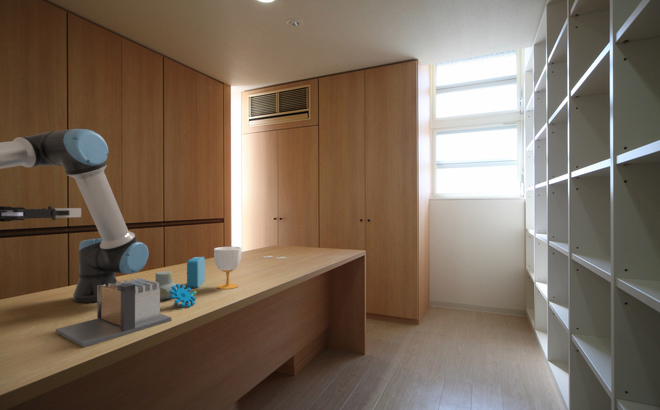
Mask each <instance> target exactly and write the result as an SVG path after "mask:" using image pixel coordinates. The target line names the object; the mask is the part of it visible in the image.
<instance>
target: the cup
mask: <svg viewBox="0 0 660 410" xmlns="http://www.w3.org/2000/svg"><path fill="white" fill-rule="evenodd" d="M213 255H214V264H215V266H216V267H217V269H218V270H219V271H221V272H225V273H226V274H225V275H226V280H225V281H226V283H223V284H220V285H217V286H216V288H217V289H219V290H232V289H237V288H238V287H239V284H236V283H230V272H233V271H235V270H236V269H237V268H238V267H239V265H240V263H241V257H242V247H240V246H221V247H220V246H219V247H214V249H213Z"/></svg>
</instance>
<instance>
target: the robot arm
mask: <svg viewBox="0 0 660 410" xmlns="http://www.w3.org/2000/svg"><path fill="white" fill-rule="evenodd" d="M108 155H109V146H108V145H107V142H106V140H105V139H104V138H103V137H102V136H101V135H100V134H99V133H97V132H95V131H94V130H92V129H91V130H90V129H85V128H73V129H64V130H53V131H47V132H46V131H45V132H42V133H38V134H37V133H36V134H32V135H28V136H21V137H20V136H19V137H16V138H14V139H13V140H12V141H4V142H3V141H2V142H0V169H1V170H2V169H8V168H13V167H19V166H22V167H24V168H33V167H63V170H64V172H65V173H66V176H68V177H71V178H73V179H74V180H75V183H76V184H77V185H76V186H77V187H78V190H79V191H80V193H81V196H82V198H83V200H84V203H85V204H86V207H87V208H88V209H87V210H88V211H89V214H90V216H91V218H92V221H93V223H94V225H95V226H96V229H97V231H98V233H99V235H100V238H93V239H92V238H91V239H85V240H81V241H80V242H79V245H78V250H77V251H78V273H79V274H78V281H77V283H76V286H75V289H74V292H73V295H72V300H73V302H74V303H79V304H80V303H81V304H82V303H84V304H87V303H97V285H101V284H106V285H107V286H108V283H113V284H116V282H118V280H117V277H116V273H118V274H123V275H126V274H127V275H128V274H136V273H138V272H140V271H141V270H142V269H143V268H145V266H146V264H147V261H148V259H149V256H150V255H149V248H148V246H147V244H145V243H143V242H141V241H138V240H137V237H136V234H135V232H131V231H129V230H128V226H127V225H126V221H125V220H124V216H123V215H122V212H121V209H120V207H119V204H118V202H117V199H116V198H115V195H114V192H113V190H112V187H111V185H110V183H109V181H108V179H107V178H108V177H107V175H106V173H105V169H106V167H107V166H108V165H107V162H106V161H107V159H108ZM57 218H58V219H60V218H61V219H63V218H65V219H66V218H82V208H81V207H72V208H71V207H66V208H63V207H62V208H60V207H58V208H57V207H55V208H54V207H52V206H51V205H49V206H47V208H44V207H43V208H25V207H21V206H20V207H18V206H16V207H15V206H14V207H12V206H11V205H10V206H5V205H4V206H0V222H4V223H5V222H12V221H24V220H26V219H51V220H52V221H56V219H57Z"/></svg>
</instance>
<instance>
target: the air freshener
mask: <svg viewBox="0 0 660 410" xmlns="http://www.w3.org/2000/svg"><path fill="white" fill-rule="evenodd" d="M154 282H158V283H159V289H160V301H166V300H169V299H171V295H172V294H171V293H170V291H171V290H172V288H171V287H172V286H174V285H175V286H176V284H177V283H176V282H174V281H173V272H172V271H168V270H165V271H164V270H163V271H158V272H156V273H155V281H154ZM176 289H177V287H176ZM174 292H175V291H174Z"/></svg>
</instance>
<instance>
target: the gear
mask: <svg viewBox="0 0 660 410" xmlns="http://www.w3.org/2000/svg"><path fill="white" fill-rule="evenodd" d="M176 287H177V289H176ZM186 287H187V285H185V284H182V285H181V284H180V283H176V286H175V285H174V286H172V287H171V288H172V290H171V291H170V293H171V294H172V295H171V298H170V299H172V300H174V303H173V304H174V305H175V306H177V305H178V304H179V303H180V302H181V304H180V307H181V308H184V307H185V306H186V308H191V306H194V305H196V304H195V303H196V300H197V297H196V296H195V295H196V294H197V291H196V290H194V291H192V288H190V287H189V288H188V287H187V288H186ZM174 291H175V292H174ZM191 291H192V292H191Z"/></svg>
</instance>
